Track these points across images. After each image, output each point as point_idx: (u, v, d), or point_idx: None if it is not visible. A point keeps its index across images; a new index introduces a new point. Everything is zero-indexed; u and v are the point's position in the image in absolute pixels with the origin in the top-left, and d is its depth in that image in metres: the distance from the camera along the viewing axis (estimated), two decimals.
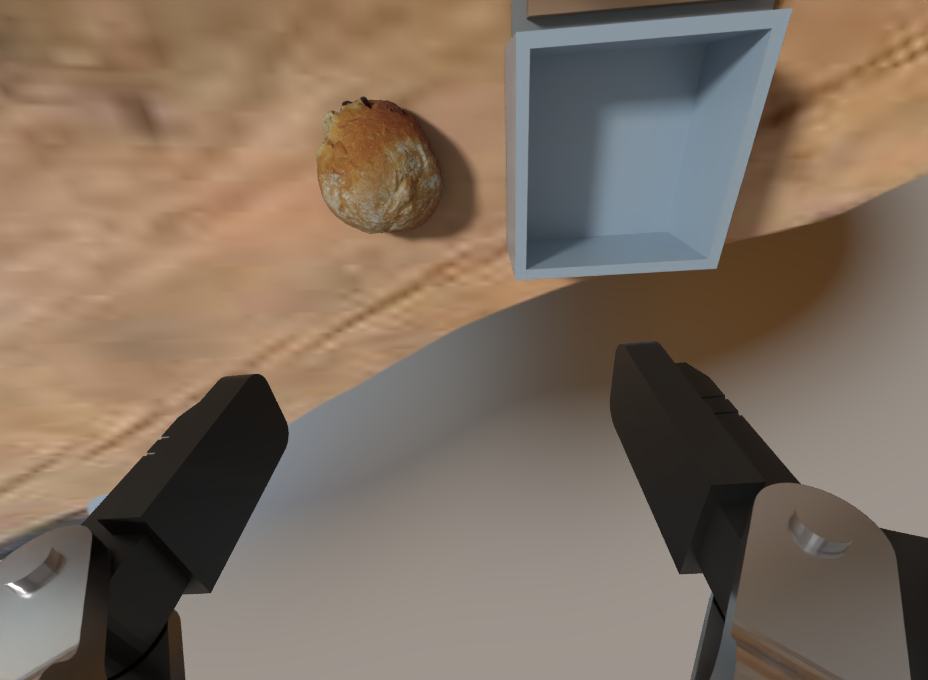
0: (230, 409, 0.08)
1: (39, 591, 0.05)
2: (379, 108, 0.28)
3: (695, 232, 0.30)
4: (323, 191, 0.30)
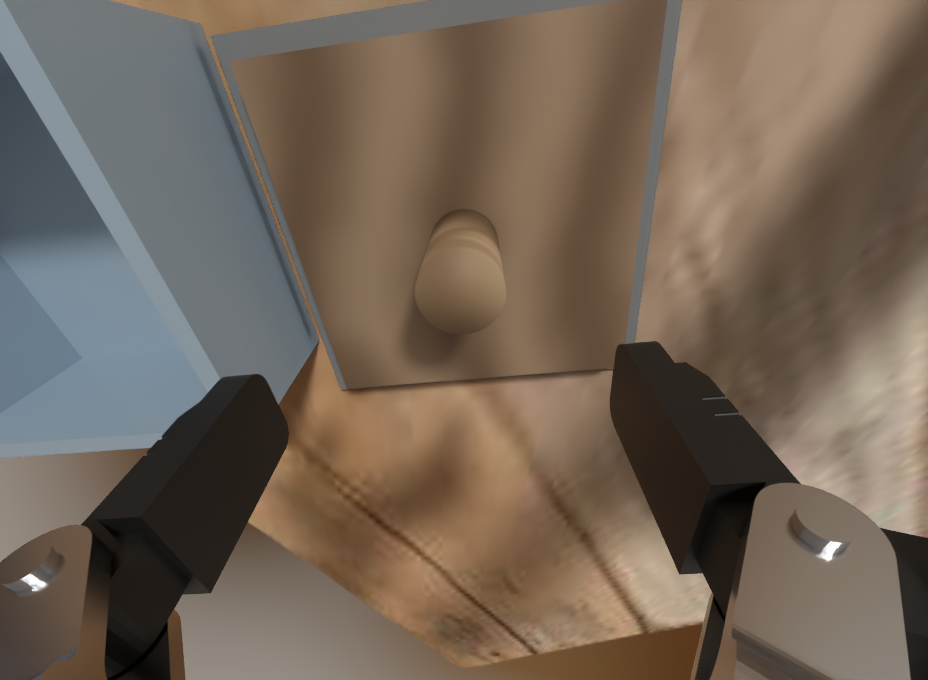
0: (230, 409, 0.08)
1: (40, 591, 0.05)
2: None
3: (28, 407, 0.19)
4: None
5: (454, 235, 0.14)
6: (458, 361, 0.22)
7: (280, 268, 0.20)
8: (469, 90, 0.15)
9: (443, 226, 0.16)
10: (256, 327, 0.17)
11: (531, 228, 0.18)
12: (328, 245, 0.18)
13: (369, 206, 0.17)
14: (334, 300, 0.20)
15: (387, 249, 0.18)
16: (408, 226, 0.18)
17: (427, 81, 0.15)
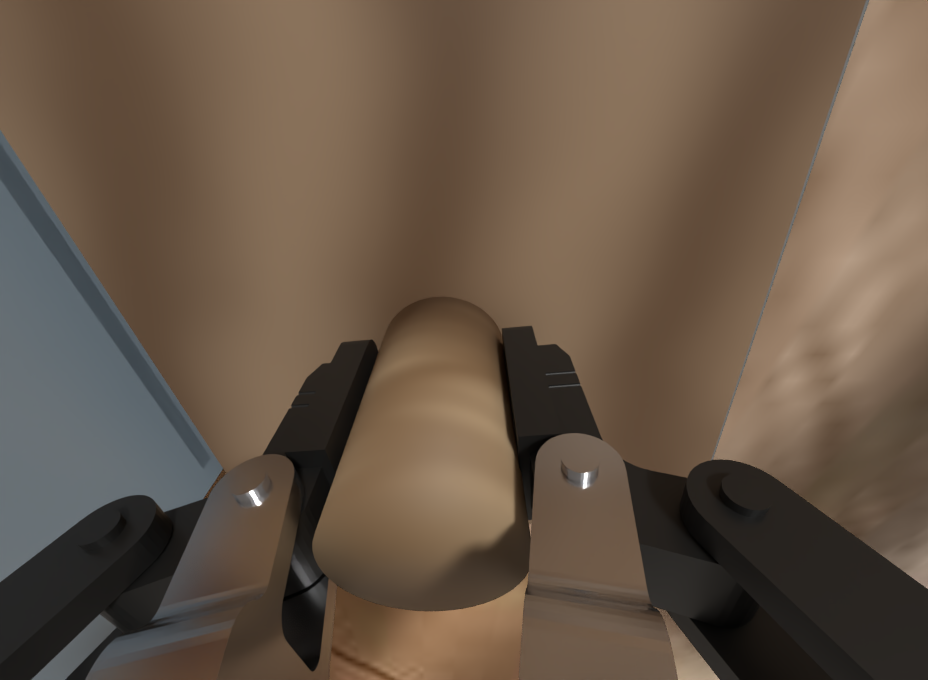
0: (361, 368, 0.08)
1: (268, 503, 0.05)
2: None
3: None
4: None
5: (412, 396, 0.06)
6: None
7: (135, 378, 0.12)
8: (448, 76, 0.07)
9: (398, 347, 0.08)
10: (54, 516, 0.09)
11: (562, 327, 0.10)
12: (204, 351, 0.10)
13: (268, 290, 0.09)
14: (228, 429, 0.12)
15: (308, 357, 0.10)
16: (343, 323, 0.10)
17: (358, 55, 0.07)
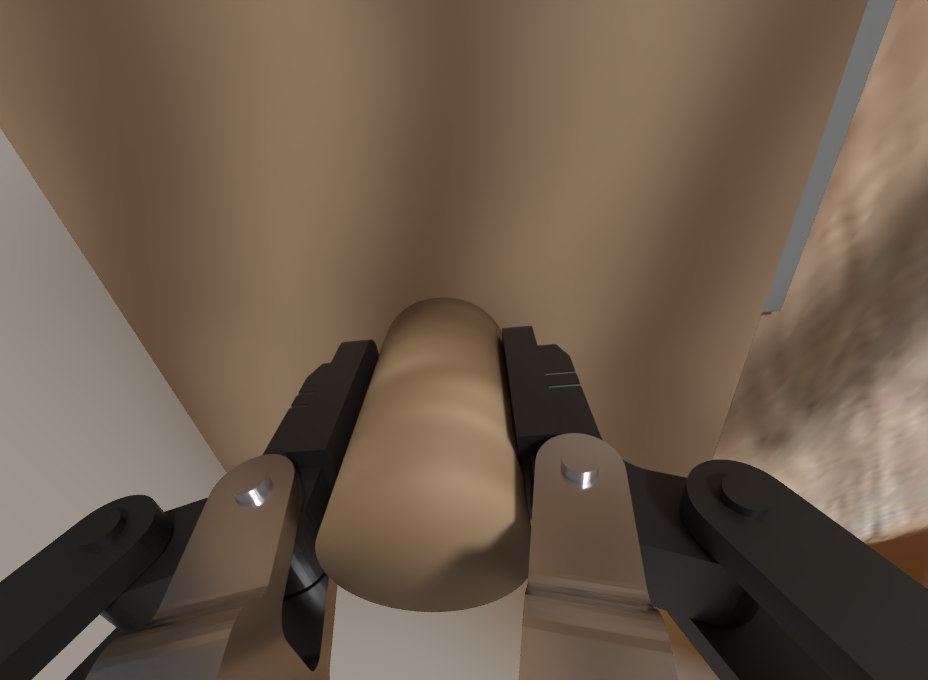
0: (361, 368, 0.08)
1: (268, 503, 0.05)
2: None
3: None
4: None
5: (415, 397, 0.06)
6: None
7: None
8: (450, 77, 0.07)
9: (400, 348, 0.08)
10: None
11: (563, 328, 0.10)
12: (205, 351, 0.10)
13: (270, 291, 0.09)
14: (229, 430, 0.12)
15: (310, 358, 0.10)
16: (345, 324, 0.10)
17: (360, 56, 0.07)
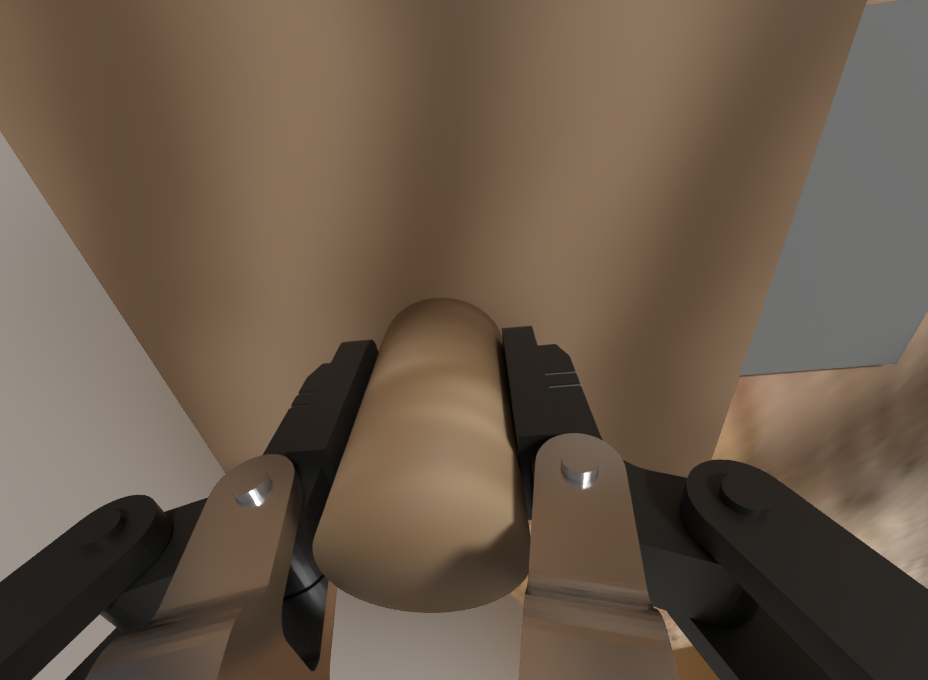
0: (361, 368, 0.08)
1: (268, 502, 0.05)
2: None
3: None
4: None
5: (413, 398, 0.06)
6: None
7: None
8: (448, 77, 0.07)
9: (398, 349, 0.08)
10: None
11: (562, 328, 0.10)
12: (204, 352, 0.10)
13: (268, 291, 0.09)
14: (229, 430, 0.12)
15: (309, 358, 0.10)
16: (343, 325, 0.10)
17: (358, 56, 0.07)
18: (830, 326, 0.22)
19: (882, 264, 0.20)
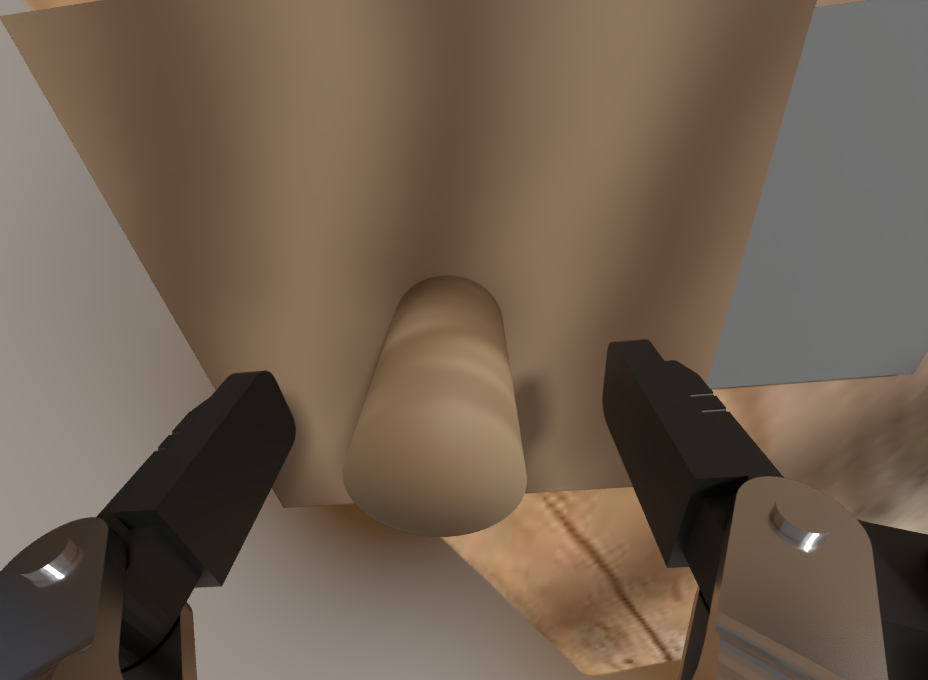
0: (240, 405, 0.08)
1: (58, 581, 0.05)
2: None
3: None
4: None
5: (425, 351, 0.07)
6: None
7: None
8: (454, 77, 0.08)
9: (410, 316, 0.09)
10: None
11: (556, 304, 0.11)
12: (231, 326, 0.12)
13: (291, 270, 0.11)
14: None
15: (326, 332, 0.12)
16: (358, 300, 0.11)
17: (377, 60, 0.08)
18: (845, 335, 0.22)
19: (902, 271, 0.20)
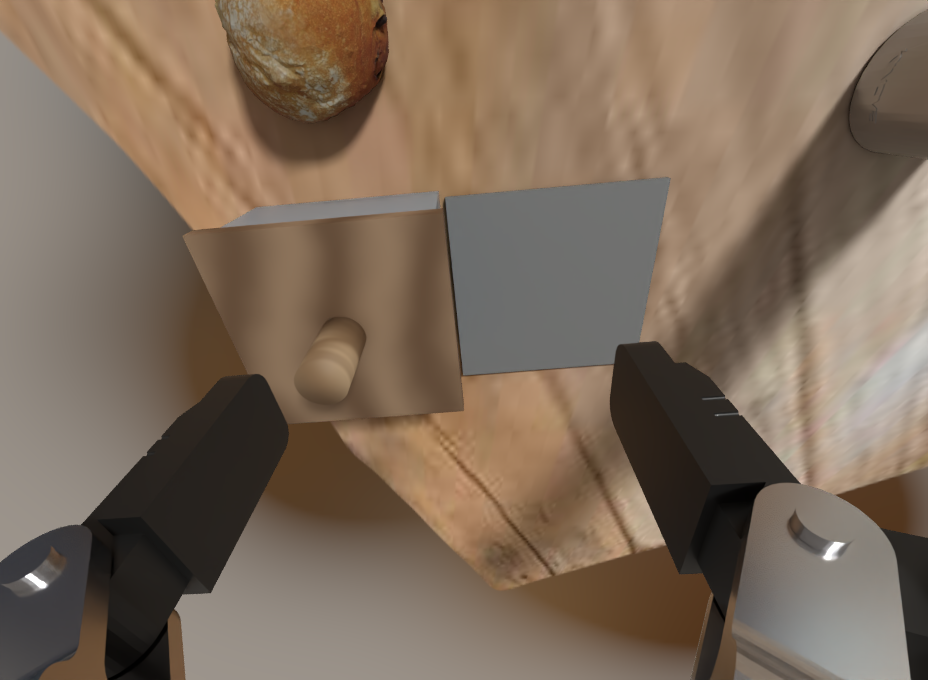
0: (230, 409, 0.08)
1: (39, 591, 0.05)
2: (376, 42, 0.24)
3: None
4: None
5: (321, 346, 0.24)
6: (350, 407, 0.31)
7: None
8: (334, 254, 0.25)
9: (321, 333, 0.25)
10: None
11: (385, 328, 0.27)
12: (252, 335, 0.28)
13: (278, 313, 0.27)
14: (258, 368, 0.29)
15: (292, 338, 0.28)
16: (305, 325, 0.27)
17: (308, 249, 0.24)
18: (589, 340, 0.39)
19: (606, 306, 0.37)
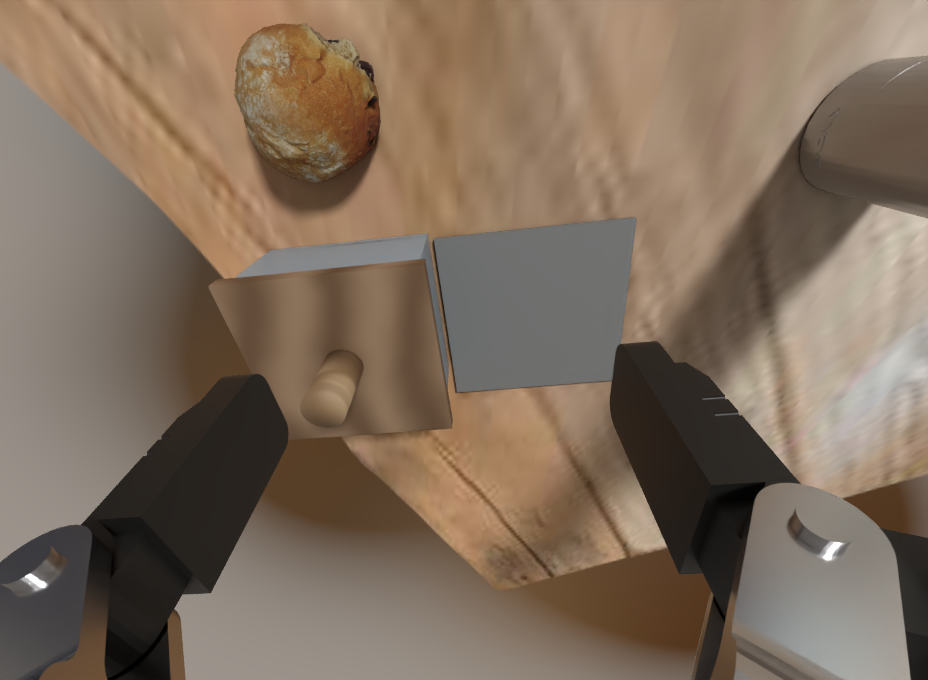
0: (230, 409, 0.08)
1: (39, 591, 0.05)
2: (369, 118, 0.28)
3: None
4: (265, 37, 0.25)
5: (323, 378, 0.28)
6: (352, 425, 0.36)
7: (442, 332, 0.40)
8: (334, 299, 0.29)
9: (323, 365, 0.30)
10: None
11: (380, 358, 0.32)
12: (266, 365, 0.32)
13: (288, 347, 0.31)
14: (272, 392, 0.34)
15: (300, 367, 0.32)
16: (311, 357, 0.32)
17: (311, 295, 0.29)
18: (572, 360, 0.42)
19: (585, 330, 0.40)
